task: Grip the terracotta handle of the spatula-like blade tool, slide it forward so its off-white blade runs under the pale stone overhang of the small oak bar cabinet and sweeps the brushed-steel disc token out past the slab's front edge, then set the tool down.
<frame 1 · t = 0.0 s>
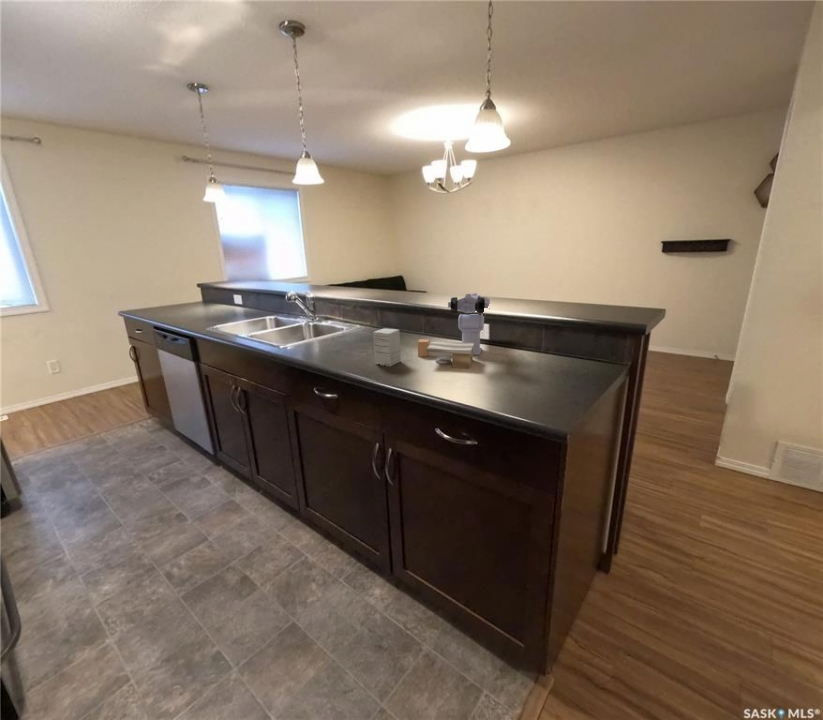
hand: (464, 306, 134), 22 cm above the countertop, tool horizontal, fingers open, 7 cm apart
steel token: (443, 362, 147), on the countertop
blade tool: (424, 355, 156), on the countertop
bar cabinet: (449, 362, 145), on the countertop
grey drawer cabinet: (388, 363, 147), on the countertop
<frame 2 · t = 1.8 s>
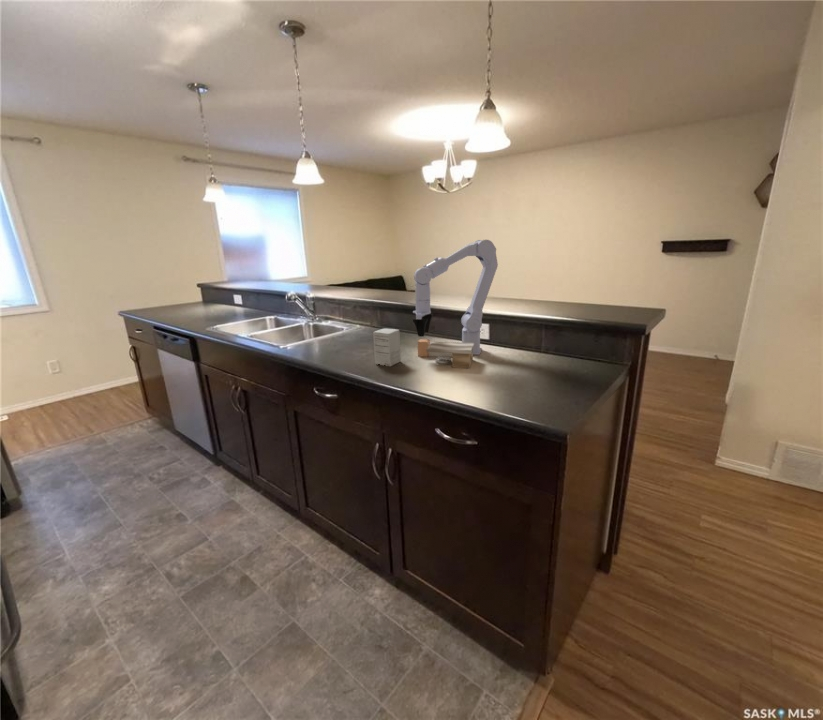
hand: (423, 334, 154), 9 cm above the countertop, tool pointing down, fingers open, 7 cm apart
nothing on the countertop moved.
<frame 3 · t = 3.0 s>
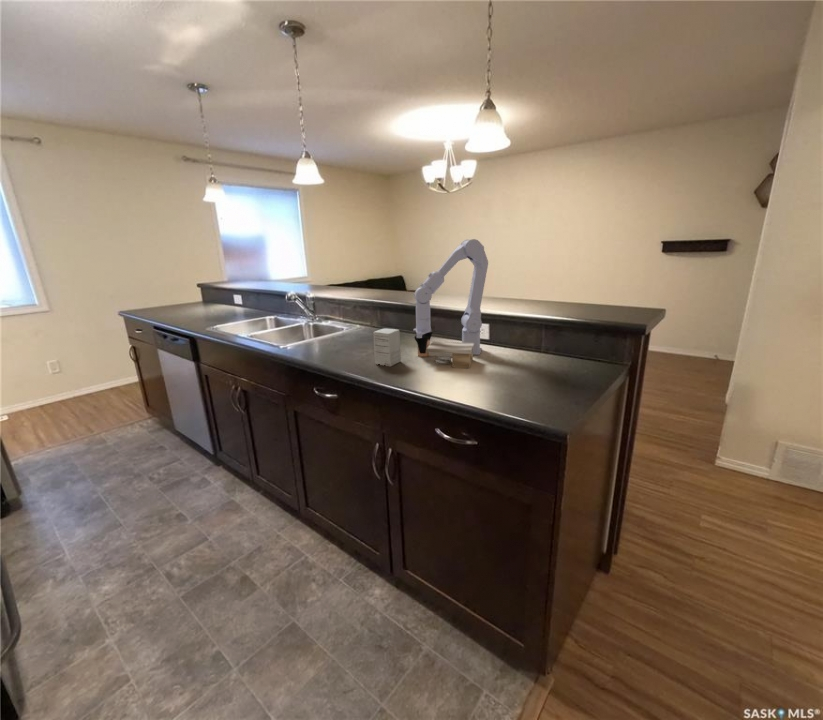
hand: (423, 351, 156), 1 cm above the countertop, tool pointing down, fingers closed on blade tool, 4 cm apart
blade tool: (424, 355, 156), on the countertop, touching gripper
everything else where it was.
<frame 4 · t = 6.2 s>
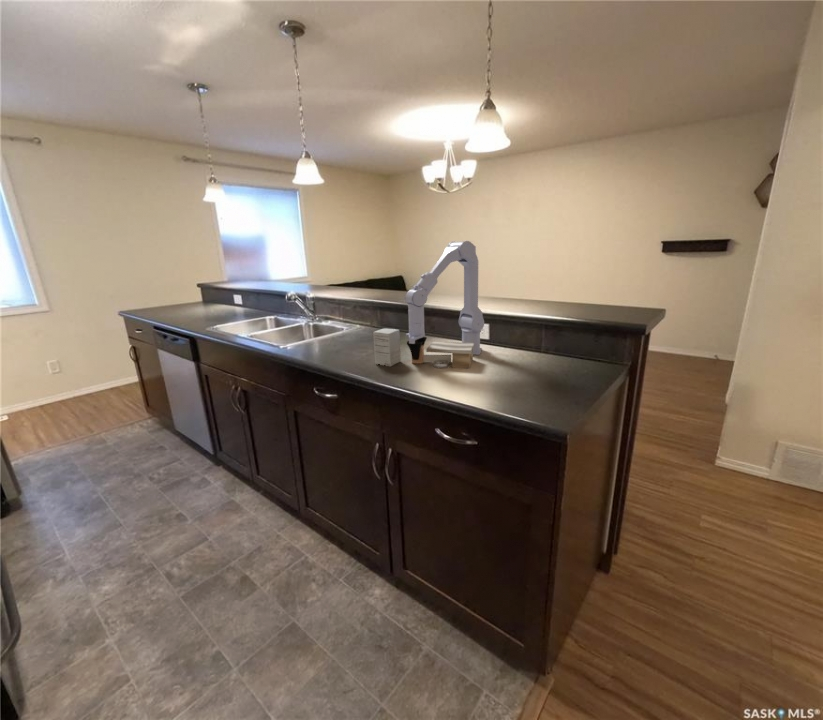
hand: (417, 357, 146), 2 cm above the countertop, tool pointing down, fingers closed on blade tool, 4 cm apart
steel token: (441, 366, 142), on the countertop
blade tool: (418, 361, 147), on the countertop, touching gripper
everything else where it was.
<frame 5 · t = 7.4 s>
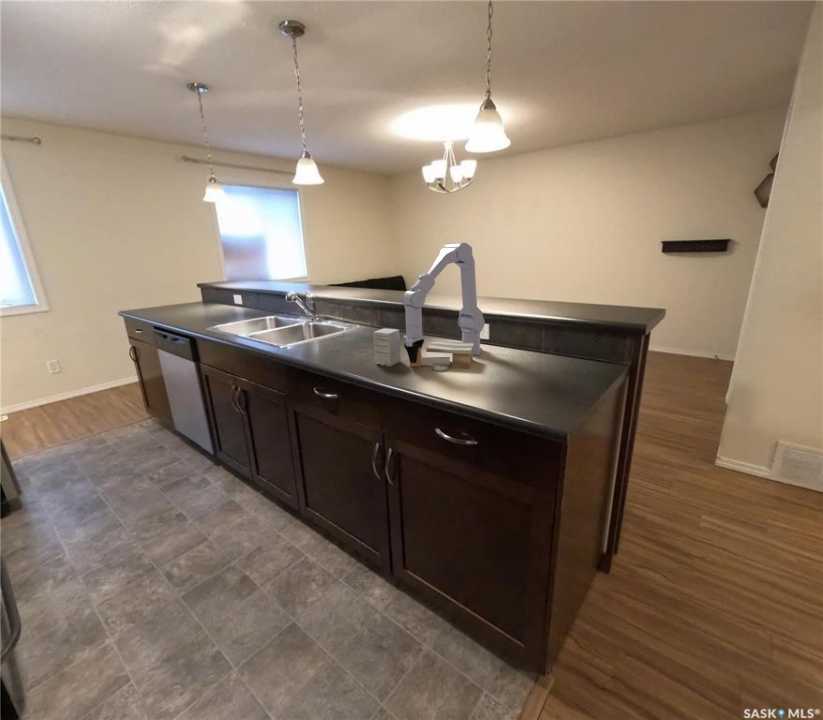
hand: (414, 360, 143), 2 cm above the countertop, tool pointing down, fingers closed on blade tool, 4 cm apart
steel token: (440, 369, 138), on the countertop
blade tool: (415, 364, 143), on the countertop, touching gripper
everything else where it was.
when the fingers open (1 cm above the countertop, at t = 9.1 s): blade tool stays where it is, on the countertop.
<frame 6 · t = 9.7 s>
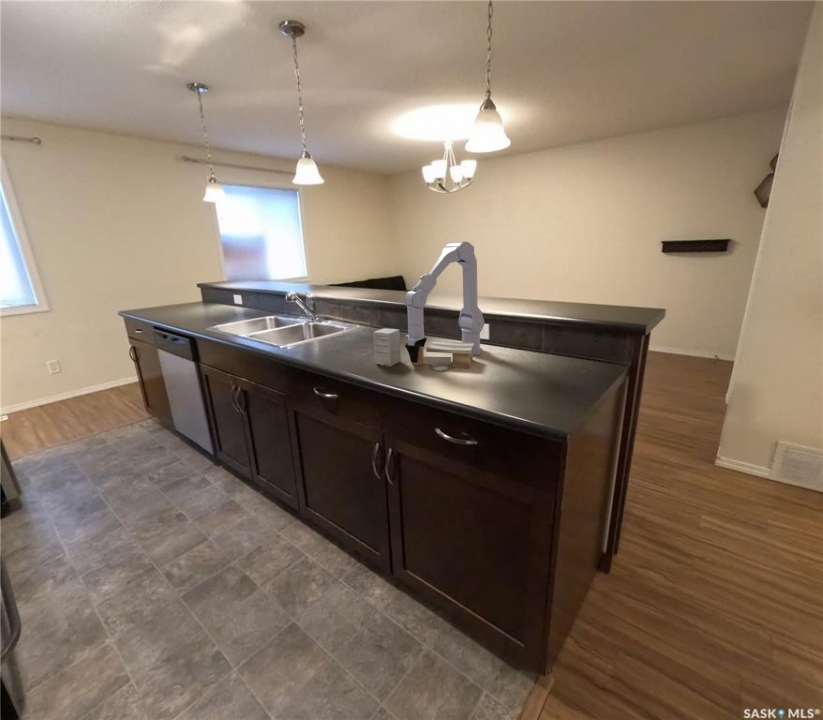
hand: (416, 359, 145), 1 cm above the countertop, tool pointing down, fingers open, 7 cm apart
blade tool: (417, 363, 146), on the countertop
everything else where it was.
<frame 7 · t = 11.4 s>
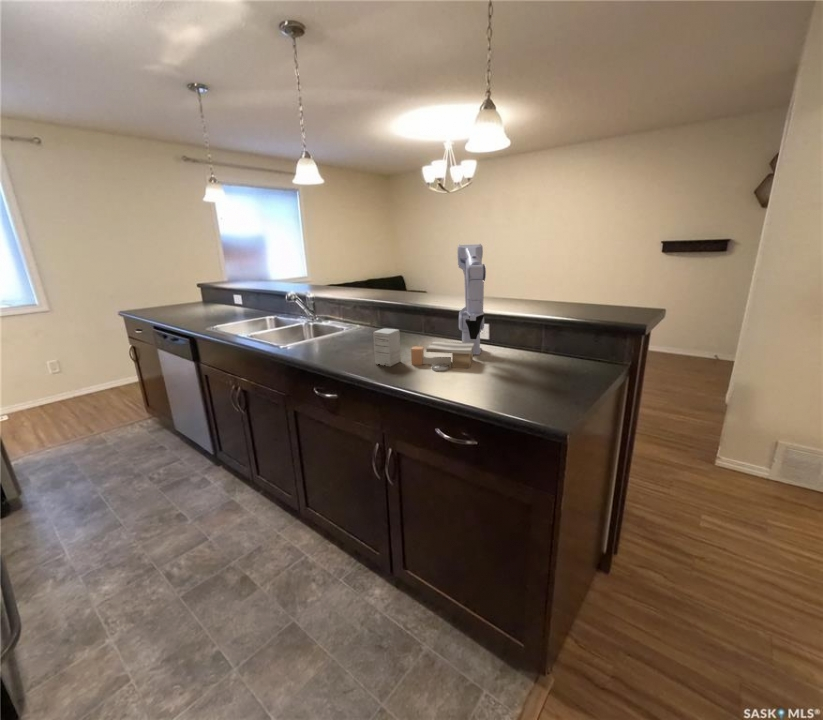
hand: (474, 336, 142), 10 cm above the countertop, tool pointing down, fingers open, 7 cm apart
nothing on the countertop moved.
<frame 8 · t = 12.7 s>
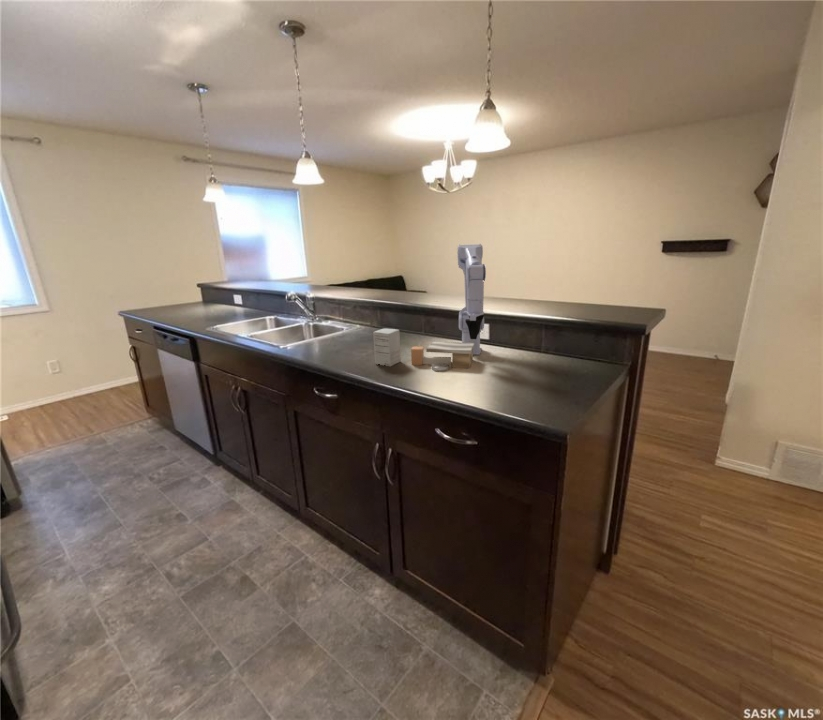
hand: (474, 336, 142), 10 cm above the countertop, tool pointing down, fingers open, 7 cm apart
nothing on the countertop moved.
at the end: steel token inside the target area (10.4 cm from its centre), on the countertop; the gripper is holding nothing; blade tool on the countertop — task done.
